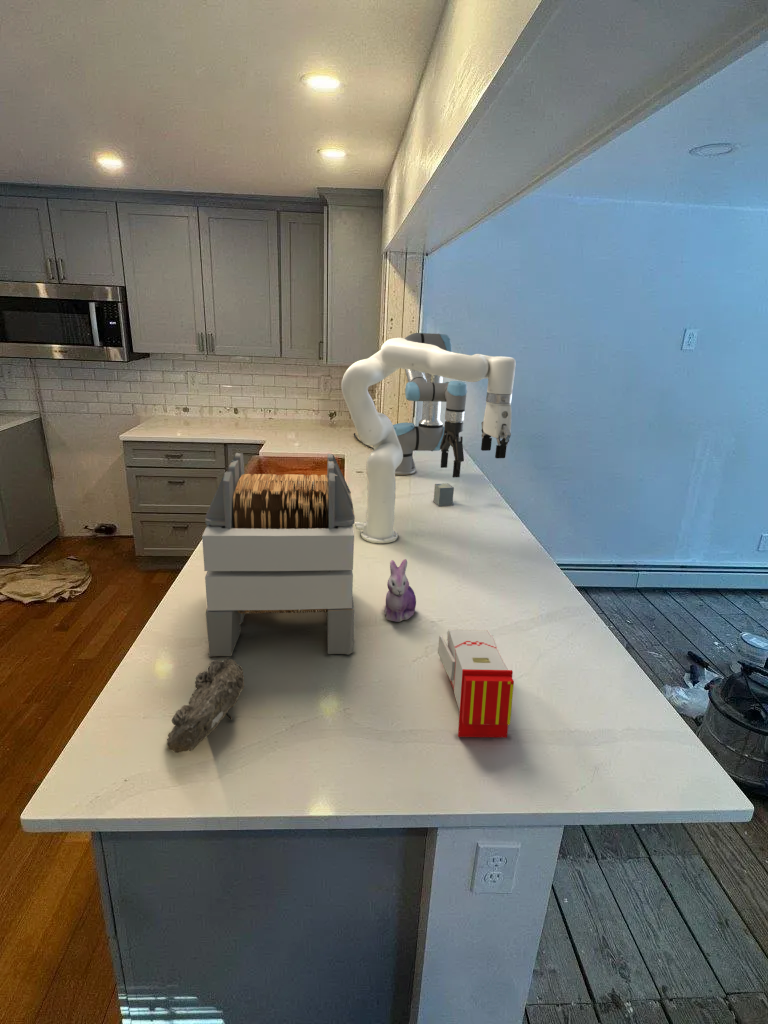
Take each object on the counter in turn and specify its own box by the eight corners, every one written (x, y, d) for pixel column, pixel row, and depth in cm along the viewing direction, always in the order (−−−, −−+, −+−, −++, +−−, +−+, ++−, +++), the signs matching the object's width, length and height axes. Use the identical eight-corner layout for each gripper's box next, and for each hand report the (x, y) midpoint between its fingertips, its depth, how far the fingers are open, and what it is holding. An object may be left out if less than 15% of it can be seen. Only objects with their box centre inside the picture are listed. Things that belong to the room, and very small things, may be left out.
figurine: (392, 627, 141) (395, 572, 136) (374, 608, 149) (376, 556, 144) (425, 619, 145) (429, 566, 140) (405, 601, 154) (408, 550, 149)
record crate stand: (228, 587, 157) (220, 443, 143) (347, 586, 161) (350, 445, 147) (206, 659, 125) (193, 482, 111) (354, 655, 129) (359, 484, 115)
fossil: (192, 660, 117) (244, 628, 112) (224, 691, 120) (276, 661, 115) (142, 746, 98) (202, 712, 93) (182, 779, 101) (242, 748, 96)
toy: (488, 613, 130) (523, 677, 101) (484, 667, 133) (517, 744, 104) (435, 612, 130) (455, 676, 101) (432, 666, 133) (451, 743, 103)
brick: (452, 505, 231) (453, 487, 229) (438, 506, 230) (440, 488, 227) (446, 501, 237) (448, 483, 234) (433, 501, 235) (434, 484, 232)
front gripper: (524, 403, 164) (517, 460, 170) (496, 394, 180) (491, 447, 186) (501, 403, 162) (494, 461, 168) (475, 394, 178) (470, 447, 184)
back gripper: (475, 427, 216) (470, 480, 223) (451, 414, 238) (447, 463, 246) (457, 428, 214) (452, 481, 221) (434, 414, 236) (430, 464, 244)
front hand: (492, 454), depth 177 cm, fingers open, 9 cm apart
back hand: (449, 472), depth 234 cm, fingers open, 13 cm apart
